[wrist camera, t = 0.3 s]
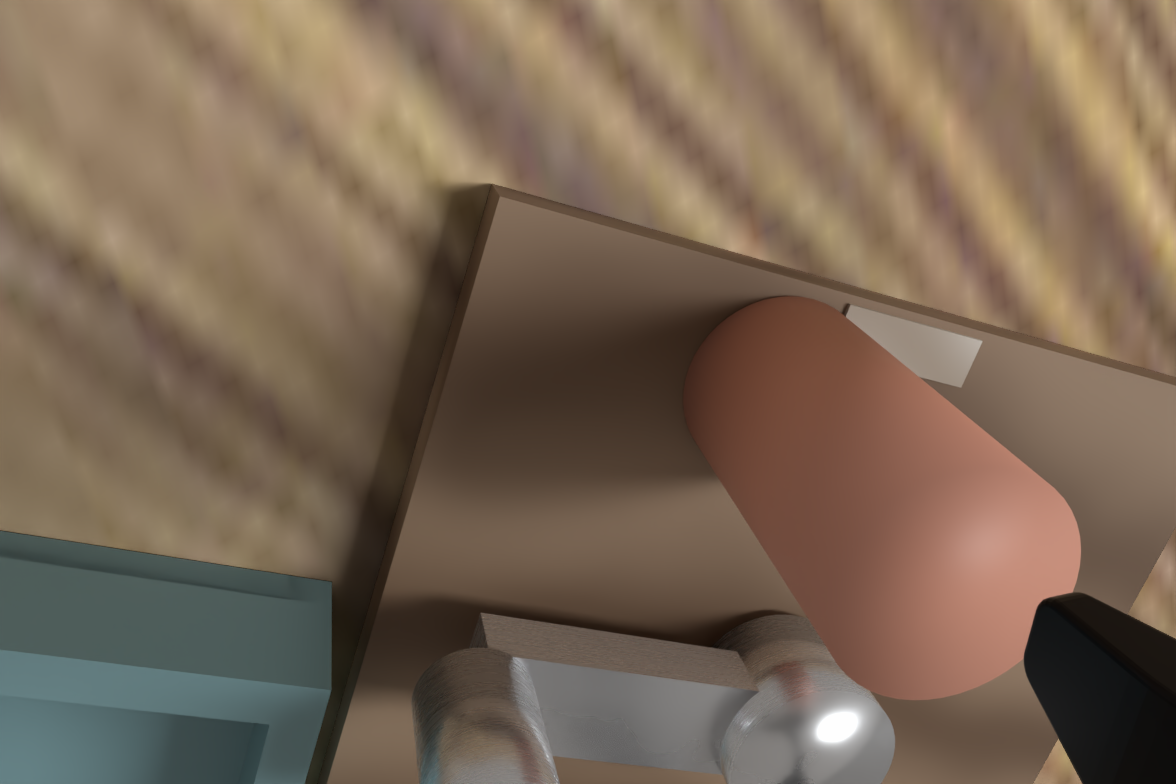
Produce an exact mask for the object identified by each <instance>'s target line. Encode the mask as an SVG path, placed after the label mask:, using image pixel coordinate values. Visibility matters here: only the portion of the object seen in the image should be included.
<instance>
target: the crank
mask: <svg viewBox="0 0 1176 784" xmlns="http://www.w3.org/2000/svg"><path fill="white" fill-rule="evenodd" d="M411 707H412V718H413V728H414V738H415V748H416V758H417V768H418V778H419V784H560V782H559V778H558V775H557V771H556V767H555V763H554V760H553V756H557V757H566V758H575V759H584V760H593V761H602V762H611V763H620V764H629V765H638V766H647V767H656V768H665V769H674V770H683V771H692V772H701V773H710V774H719V775H723V777H724V779H725V781H726V783H727V784H881V782H882V781H883V779H884V778H885V776H886V774H887V772H888V770H889V768H890V765H891V763H892V759H893V756H894V750H895V735H894V729H893V726H892V724H891V721H890V719H889V718H888V716H887V714H886V713H885V711H884V710H883V709H882V707H881V706H880V704H879V703H878V702H877V700H876V699H875V697H874V696H873V695H872V693H871V692H870V691H869V690H867V689H866V688H864V687H862V686H860V685H859V684H857V683H856V682H854V681H853V680H852V679H851V678H850V677H848V676H847V675H846V674H845V673H844V672H843V670H842V669H841V668H840V667H839V666H838V665H837V663H836V661H835V660H834V658H833V657H832V655H831V654H830V652H829V650H828V649H827V647H826V646H825V644H824V643H823V641H822V640H821V638H820V636H819V635H818V633H817V632H816V630H815V629H814V627H813V625H812V624H811V622H810V621H809V619H807V618H804V617H800V616H795V615H786V614H784V615H770V616H764V617H760V618H756V619H753V620H751V621H748V622H746V623H743V624H741V625H739V626H737V627H736V628H734V629H732V630H731V631H729V632H728V633H726V634H725V635H724V636H722V637H721V638H720V639H719V640H718V641H717V642H716V643H715V644H714V645H713V646H712V647H711V648H710V647H704V646H697V645H691V644H684V643H678V642H671V641H664V640H658V639H651V638H645V637H638V636H632V635H625V634H618V633H612V632H605V631H599V630H592V629H586V628H579V627H572V626H566V625H559V624H553V623H546V622H539V621H533V620H526V619H520V618H513V617H507V616H500V615H493V614H487V613H480V616H479V619H478V622H477V625H476V628H475V631H474V634H473V637H472V640H471V643H470V646H469V649H464V650H460V651H456V652H454V653H451V654H449V655H447V656H445V657H443V658H441V659H439V660H438V661H436V662H435V663H434V664H432V665H431V666H430V667H429V668H428V669H427V670H426V671H425V672H424V673H423V674H422V676H421V677H420V678H419V680H418V682H417V684H416V686H415V688H414V691H413V695H412V701H411Z"/></svg>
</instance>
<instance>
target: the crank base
mask: <svg viewBox="0 0 1176 784" xmlns="http://www.w3.org/2000/svg"><path fill="white" fill-rule="evenodd" d="M785 296H795V297H805V298H810V299H815V300H817V301H820V302H823V303H826V304H827V305H829V306H831V307H833V308H835V309H836V310H838V311H839V312H840V313H842V314H843V315H844V316H845V317H847V318H848V319H849V320H850V321H852V322H853V323H854V324H855V325H856V326H858V327H859V328H860V329H861V330H863V331H864V332H865V333H866V334H867V335H869V336H870V337H871V338H872V339H873V340H875V341H876V342H877V343H878V344H880V345H881V346H882V347H883V348H884V349H886V350H887V351H888V352H889V353H891V354H892V355H893V356H894V357H895V358H897V359H898V360H899V361H900V362H901V363H903V364H904V365H905V366H906V367H908V368H909V369H910V370H911V371H912V372H914V373H915V374H916V375H917V376H919V377H920V378H921V379H922V380H923V381H925V382H926V383H927V384H928V385H929V386H931V387H932V388H933V389H934V390H936V391H937V392H938V393H939V394H940V395H942V396H943V397H944V398H945V399H947V400H948V401H949V402H950V403H951V404H953V405H954V406H955V407H956V408H957V409H959V410H960V411H961V412H962V413H964V414H965V415H966V416H967V417H968V418H970V419H971V420H972V421H973V422H974V423H976V424H977V425H978V426H979V427H981V428H982V429H983V430H984V431H985V432H987V433H988V434H989V435H990V436H992V437H993V438H994V439H995V440H996V441H998V442H999V443H1000V444H1001V445H1002V446H1004V447H1005V448H1006V449H1007V450H1009V451H1010V452H1011V453H1012V454H1013V455H1015V456H1016V457H1017V458H1018V459H1020V460H1021V461H1022V462H1023V463H1024V464H1026V465H1027V466H1028V467H1029V468H1030V469H1032V470H1033V471H1034V472H1035V473H1037V474H1038V475H1039V476H1040V477H1041V478H1043V479H1044V480H1045V481H1046V482H1048V483H1049V484H1050V485H1051V486H1052V487H1054V488H1055V489H1056V490H1057V491H1058V492H1059V494H1060V495H1061V496H1062V497H1063V498H1064V499H1065V501H1066V502H1067V504H1068V505H1069V507H1070V508H1071V510H1072V512H1073V515H1074V517H1075V519H1076V522H1077V525H1078V529H1079V534H1080V542H1081V559H1080V568H1079V572H1078V577H1077V581H1076V584H1075V587H1074V590H1073V592H1081V593H1085V594H1087V595H1090V596H1092V597H1094V598H1096V599H1098V600H1100V601H1102V602H1104V603H1106V604H1108V605H1110V606H1112V607H1114V608H1116V609H1118V610H1120V611H1122V612H1124V613H1125V614H1128V612H1129V610H1130V609H1131V607H1132V605H1133V603H1134V601H1135V600H1136V598H1137V596H1138V594H1139V592H1140V591H1141V589H1142V587H1143V585H1144V583H1145V582H1146V580H1147V578H1148V576H1149V574H1150V573H1151V571H1152V569H1153V567H1154V565H1155V564H1156V562H1157V560H1158V558H1159V556H1160V555H1161V553H1162V551H1163V549H1164V547H1165V546H1166V544H1167V542H1168V540H1169V538H1170V537H1171V535H1172V533H1173V531H1174V529H1175V528H1176V377H1172V376H1169V375H1165V374H1162V373H1158V372H1155V371H1151V370H1148V369H1144V368H1141V367H1137V366H1134V365H1130V364H1127V363H1123V362H1119V361H1116V360H1112V359H1109V358H1105V357H1102V356H1098V355H1095V354H1091V353H1088V352H1084V351H1081V350H1077V349H1074V348H1070V347H1067V346H1063V345H1059V344H1056V343H1052V342H1049V341H1045V340H1042V339H1038V338H1035V337H1031V336H1028V335H1024V334H1021V333H1017V332H1014V331H1010V330H1007V329H1003V328H999V327H996V326H992V325H989V324H985V323H982V322H978V321H975V320H971V319H968V318H964V317H961V316H957V315H954V314H950V313H947V312H943V311H939V310H936V309H932V308H929V307H925V306H922V305H918V304H915V303H911V302H908V301H904V300H901V299H897V298H894V297H890V296H886V295H883V294H879V293H876V292H872V291H869V290H865V289H862V288H858V287H855V286H851V285H848V284H844V283H841V282H837V281H834V280H830V279H826V278H823V277H819V276H816V275H812V274H809V273H805V272H802V271H798V270H795V269H791V268H788V267H784V266H781V265H777V264H774V263H770V262H766V261H763V260H759V259H756V258H752V257H749V256H745V255H742V254H738V253H735V252H731V251H728V250H724V249H721V248H717V247H714V246H710V245H706V244H703V243H699V242H696V241H692V240H689V239H685V238H682V237H678V236H675V235H671V234H668V233H664V232H661V231H657V230H653V229H650V228H646V227H643V226H639V225H636V224H632V223H629V222H625V221H622V220H618V219H615V218H611V217H608V216H604V215H601V214H597V213H593V212H590V211H586V210H583V209H579V208H576V207H572V206H569V205H565V204H562V203H558V202H555V201H551V200H548V199H544V198H541V197H537V196H533V195H530V194H526V193H523V192H519V191H516V190H512V189H509V188H505V187H502V186H498V185H495V184H492V185H491V189H490V192H489V195H488V199H487V202H486V206H485V209H484V213H483V216H482V219H481V223H480V226H479V230H478V233H477V237H476V240H475V244H474V247H473V250H472V254H471V257H470V261H469V264H468V268H467V271H466V274H465V278H464V281H463V285H462V288H461V292H460V295H459V298H458V302H457V305H456V309H455V312H454V316H453V319H452V323H451V326H450V329H449V333H448V336H447V340H446V343H445V347H444V350H443V353H442V357H441V360H440V364H439V367H438V371H437V374H436V378H435V381H434V384H433V388H432V391H431V395H430V398H429V402H428V405H427V408H426V412H425V415H424V419H423V422H422V426H421V429H420V432H419V436H418V439H417V443H416V446H415V450H414V453H413V457H412V460H411V463H410V467H409V470H408V474H407V477H406V481H405V484H404V487H403V491H402V494H401V498H400V501H399V505H398V508H397V511H396V515H395V518H394V522H393V525H392V529H391V532H390V536H389V539H388V542H387V546H386V549H385V553H384V556H383V560H382V563H381V566H380V570H379V573H378V577H377V580H376V584H375V587H374V591H373V594H372V597H371V601H370V604H369V608H368V611H367V615H366V618H365V621H364V625H363V628H362V632H361V635H360V639H359V642H358V645H357V649H356V652H355V656H354V659H353V663H352V666H351V670H350V673H349V676H348V680H347V683H346V687H345V690H344V694H343V697H342V700H341V704H340V707H339V711H338V714H337V718H336V721H335V724H334V728H333V731H332V735H331V738H330V742H329V745H328V749H327V752H326V755H325V759H324V762H323V766H322V769H321V773H320V776H319V779H318V783H317V784H419V778H418V768H417V758H416V748H415V738H414V728H413V718H412V707H411V701H412V695H413V691H414V688H415V686H416V684H417V682H418V680H419V678H420V677H421V676H422V674H423V673H424V672H425V671H426V670H427V669H428V668H429V667H430V666H431V665H432V664H434V663H435V662H436V661H438V660H439V659H441V658H443V657H445V656H447V655H449V654H451V653H454V652H456V651H460V650H464V649H469V646H470V643H471V640H472V637H473V634H474V631H475V628H476V625H477V622H478V619H479V616H480V613H487V614H493V615H500V616H507V617H513V618H520V619H526V620H533V621H539V622H546V623H553V624H559V625H566V626H572V627H579V628H586V629H592V630H599V631H605V632H612V633H618V634H625V635H632V636H638V637H645V638H651V639H658V640H664V641H671V642H678V643H684V644H691V645H697V646H704V647H710V648H711V647H712V646H713V645H714V644H715V643H716V642H717V641H718V640H719V639H720V638H721V637H722V636H724V635H725V634H726V633H728V632H729V631H731V630H732V629H734V628H736V627H737V626H739V625H741V624H743V623H746V622H748V621H751V620H753V619H756V618H760V617H764V616H770V615H784V614H786V615H795V616H800V617H804V618H807V616H806V614H805V613H804V611H803V610H802V608H801V607H800V605H799V604H798V602H797V600H796V599H795V597H794V596H793V594H792V593H791V591H790V589H789V588H788V586H787V585H786V583H785V582H784V580H783V578H782V577H781V575H780V574H779V572H778V571H777V569H776V567H775V566H774V564H773V563H772V561H771V560H770V558H769V557H768V555H767V553H766V552H765V550H764V549H763V547H762V546H761V544H760V542H759V541H758V539H757V538H756V536H755V535H754V533H753V531H752V530H751V528H750V527H749V525H748V524H747V522H746V521H745V519H744V517H743V516H742V514H741V513H740V511H739V510H738V508H737V506H736V505H735V503H734V502H733V500H732V499H731V497H730V495H729V494H728V492H727V491H726V489H725V488H724V486H723V485H722V483H721V481H720V480H719V478H718V477H717V475H716V474H715V472H714V470H713V469H712V467H711V466H710V464H709V463H708V461H707V459H706V458H705V456H704V455H703V453H702V452H701V450H700V448H699V447H698V445H697V444H696V442H695V441H694V439H693V437H692V436H691V433H690V431H689V429H688V426H687V423H686V419H685V416H684V408H683V390H684V384H685V379H686V375H687V372H688V369H689V366H690V364H691V362H692V360H693V357H694V355H695V354H696V352H697V350H698V349H699V347H700V346H701V344H702V343H703V341H704V340H705V339H706V338H707V336H708V335H709V334H710V333H711V332H712V331H713V330H714V329H715V328H716V327H717V326H718V325H719V324H720V323H721V322H723V321H724V320H725V319H726V318H728V317H729V316H731V315H732V314H734V313H735V312H737V311H739V310H740V309H742V308H744V307H746V306H749V305H751V304H753V303H756V302H759V301H762V300H765V299H770V298H775V297H785ZM807 619H808V618H807ZM870 692H871V693H872V695H873V696H874V697H875V699H876V700H877V702H878V703H879V704H880V706H881V707H882V709H883V710H884V711H885V713H886V714H887V716H888V718H889V719H890V721H891V724H892V726H893V729H894V735H895V750H894V756H893V759H892V763H891V765H890V768H889V770H888V772H887V774H886V776H885V778H884V779H883V781H882V782H881V784H1033V783H1034V781H1035V779H1036V777H1037V776H1038V774H1039V772H1040V770H1041V768H1042V767H1043V765H1044V763H1045V761H1046V760H1047V758H1048V756H1049V754H1050V752H1051V751H1052V749H1053V747H1054V745H1055V743H1056V742H1057V740H1058V736H1057V734H1056V732H1055V730H1054V729H1053V727H1052V725H1051V723H1050V721H1049V719H1048V717H1047V715H1046V713H1045V711H1044V709H1043V708H1042V706H1041V704H1040V702H1039V700H1038V698H1037V696H1036V694H1035V692H1034V690H1033V689H1032V687H1031V685H1030V683H1029V681H1028V678H1027V676H1026V672H1025V668H1024V659H1022V660H1021V661H1020V662H1019V663H1017V664H1016V665H1015V666H1013V667H1012V668H1011V669H1009V670H1008V671H1006V672H1005V673H1003V674H1001V675H1000V676H998V677H996V678H995V679H993V680H991V681H989V682H987V683H985V684H983V685H981V686H979V687H976V688H974V689H971V690H968V691H965V692H963V693H960V694H956V695H952V696H948V697H944V698H937V699H930V700H903V699H895V698H891V697H886V696H882V695H880V694H877V693H874V692H872V691H870ZM553 760H554V763H555V767H556V771H557V775H558V778H559V782H560V784H727V783H726V781H725V779H724V777H723V775H719V774H710V773H701V772H692V771H683V770H674V769H665V768H656V767H647V766H638V765H629V764H620V763H611V762H602V761H593V760H584V759H575V758H566V757H557V756H553Z"/></svg>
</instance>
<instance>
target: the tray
mask: <svg viewBox="0 0 1176 784" xmlns="http://www.w3.org/2000/svg"><path fill="white" fill-rule="evenodd" d="M331 668H332V582H329V581H322V580H316V579H309V578H303V577H296V576H290V575H283V574H277V573H270V572H264V571H257V570H251V569H244V568H238V567H231V566H225V565H218V564H212V563H206V562H199V561H193V560H186V559H180V558H173V557H167V556H160V555H154V554H147V553H141V552H134V551H128V550H121V549H115V548H108V547H102V546H95V545H89V544H82V543H76V542H70V541H63V540H57V539H50V538H44V537H37V536H31V535H24V534H18V533H11V532H5V531H0V784H305V781H306V777H307V774H308V770H309V767H310V763H311V760H312V756H313V753H314V749H315V746H316V742H317V739H318V735H319V732H320V728H321V725H322V721H323V718H324V714H325V711H326V707H327V704H328V701H329V697H330V694H331Z"/></svg>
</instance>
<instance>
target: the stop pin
mask: <svg viewBox="0 0 1176 784" xmlns="http://www.w3.org/2000/svg"><path fill="white" fill-rule="evenodd" d="M683 408H684V416H685V419H686V423H687V426H688V429H689V431H690V433H691V436H692V437H693V439H694V441H695V442H696V444H697V445H698V447H699V448H700V450H701V452H702V453H703V455H704V456H705V458H706V459H707V461H708V463H709V464H710V466H711V467H712V469H713V470H714V472H715V474H716V475H717V477H718V478H719V480H720V481H721V483H722V485H723V486H724V488H725V489H726V491H727V492H728V494H729V495H730V497H731V499H732V500H733V502H734V503H735V505H736V506H737V508H738V510H739V511H740V513H741V514H742V516H743V517H744V519H745V521H746V522H747V524H748V525H749V527H750V528H751V530H752V531H753V533H754V535H755V536H756V538H757V539H758V541H759V542H760V544H761V546H762V547H763V549H764V550H765V552H766V553H767V555H768V557H769V558H770V560H771V561H772V563H773V564H774V566H775V567H776V569H777V571H778V572H779V574H780V575H781V577H782V578H783V580H784V582H785V583H786V585H787V586H788V588H789V589H790V591H791V593H792V594H793V596H794V597H795V599H796V600H797V602H798V604H799V605H800V607H801V608H802V610H803V611H804V613H805V614H806V616H807V618H808V619H809V621H810V622H811V624H812V625H813V627H814V629H815V630H816V632H817V633H818V635H819V636H820V638H821V640H822V641H823V643H824V644H825V646H826V647H827V649H828V650H829V652H830V654H831V655H832V657H833V658H834V660H835V661H836V663H837V665H838V666H839V667H840V668H841V669H842V670H843V672H844V673H845V674H846V675H847V676H848V677H850V678H851V679H852V680H853V681H854V682H856V683H857V684H859V685H860V686H862V687H864V688H866V689H867V690H869V691H872V692H874V693H877V694H880V695H882V696H886V697H891V698H895V699H903V700H930V699H937V698H944V697H948V696H952V695H956V694H960V693H963V692H965V691H968V690H971V689H974V688H976V687H979V686H981V685H983V684H985V683H987V682H989V681H991V680H993V679H995V678H996V677H998V676H1000V675H1001V674H1003V673H1005V672H1006V671H1008V670H1009V669H1011V668H1012V667H1013V666H1015V665H1016V664H1017V663H1019V662H1020V661H1021V660H1022V659H1024V651H1025V648H1026V644H1027V641H1028V637H1029V633H1030V630H1031V626H1032V623H1033V619H1034V615H1035V612H1036V609H1037V606H1038V605H1039V603H1040V602H1041V601H1042V600H1043V599H1046V598H1049V597H1053V596H1058V595H1062V594H1067V593H1072V592H1073V590H1074V587H1075V584H1076V581H1077V577H1078V572H1079V568H1080V559H1081V542H1080V534H1079V529H1078V525H1077V522H1076V519H1075V517H1074V515H1073V512H1072V510H1071V508H1070V507H1069V505H1068V504H1067V502H1066V501H1065V499H1064V498H1063V497H1062V496H1061V495H1060V494H1059V492H1058V491H1057V490H1056V489H1055V488H1054V487H1052V486H1051V485H1050V484H1049V483H1048V482H1046V481H1045V480H1044V479H1043V478H1041V477H1040V476H1039V475H1038V474H1037V473H1035V472H1034V471H1033V470H1032V469H1030V468H1029V467H1028V466H1027V465H1026V464H1024V463H1023V462H1022V461H1021V460H1020V459H1018V458H1017V457H1016V456H1015V455H1013V454H1012V453H1011V452H1010V451H1009V450H1007V449H1006V448H1005V447H1004V446H1002V445H1001V444H1000V443H999V442H998V441H996V440H995V439H994V438H993V437H992V436H990V435H989V434H988V433H987V432H985V431H984V430H983V429H982V428H981V427H979V426H978V425H977V424H976V423H974V422H973V421H972V420H971V419H970V418H968V417H967V416H966V415H965V414H964V413H962V412H961V411H960V410H959V409H957V408H956V407H955V406H954V405H953V404H951V403H950V402H949V401H948V400H947V399H945V398H944V397H943V396H942V395H940V394H939V393H938V392H937V391H936V390H934V389H933V388H932V387H931V386H929V385H928V384H927V383H926V382H925V381H923V380H922V379H921V378H920V377H919V376H917V375H916V374H915V373H914V372H912V371H911V370H910V369H909V368H908V367H906V366H905V365H904V364H903V363H901V362H900V361H899V360H898V359H897V358H895V357H894V356H893V355H892V354H891V353H889V352H888V351H887V350H886V349H884V348H883V347H882V346H881V345H880V344H878V343H877V342H876V341H875V340H873V339H872V338H871V337H870V336H869V335H867V334H866V333H865V332H864V331H863V330H861V329H860V328H859V327H858V326H856V325H855V324H854V323H853V322H852V321H850V320H849V319H848V318H847V317H845V316H844V315H843V314H842V313H840V312H839V311H838V310H836V309H835V308H833V307H831V306H829V305H827V304H826V303H823V302H820V301H817V300H815V299H810V298H805V297H795V296H785V297H775V298H770V299H765V300H762V301H759V302H756V303H753V304H751V305H749V306H746V307H744V308H742V309H740V310H739V311H737V312H735V313H734V314H732V315H731V316H729V317H728V318H726V319H725V320H724V321H723V322H721V323H720V324H719V325H718V326H717V327H716V328H715V329H714V330H713V331H712V332H711V333H710V334H709V335H708V336H707V338H706V339H705V340H704V341H703V343H702V344H701V346H700V347H699V349H698V350H697V352H696V354H695V355H694V357H693V360H692V362H691V364H690V366H689V369H688V372H687V375H686V379H685V384H684V390H683Z"/></svg>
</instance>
